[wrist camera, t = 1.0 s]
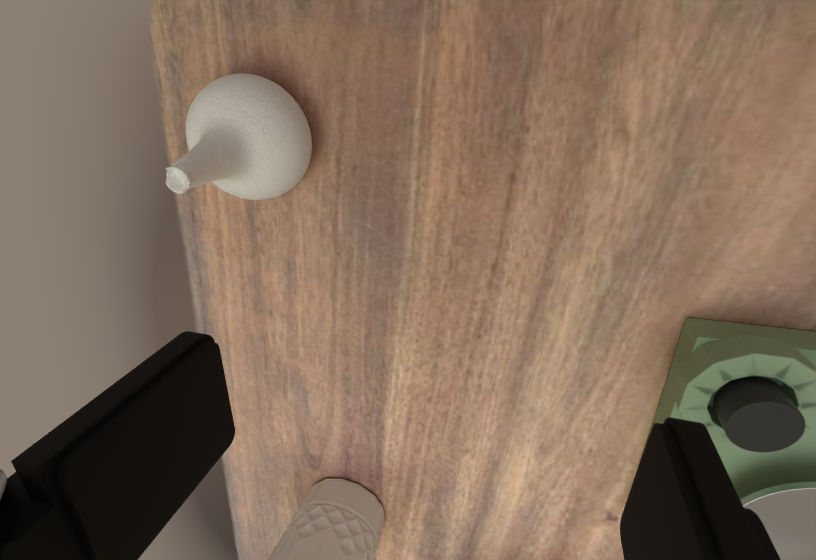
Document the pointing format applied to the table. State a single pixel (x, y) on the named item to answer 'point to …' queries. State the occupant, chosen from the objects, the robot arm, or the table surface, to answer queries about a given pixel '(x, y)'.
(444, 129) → the table surface
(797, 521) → the pan
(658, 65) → the table surface
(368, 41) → the table surface
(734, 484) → the scale
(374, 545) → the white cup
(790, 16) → the table surface
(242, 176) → the garlic bulb
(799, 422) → the tare button
